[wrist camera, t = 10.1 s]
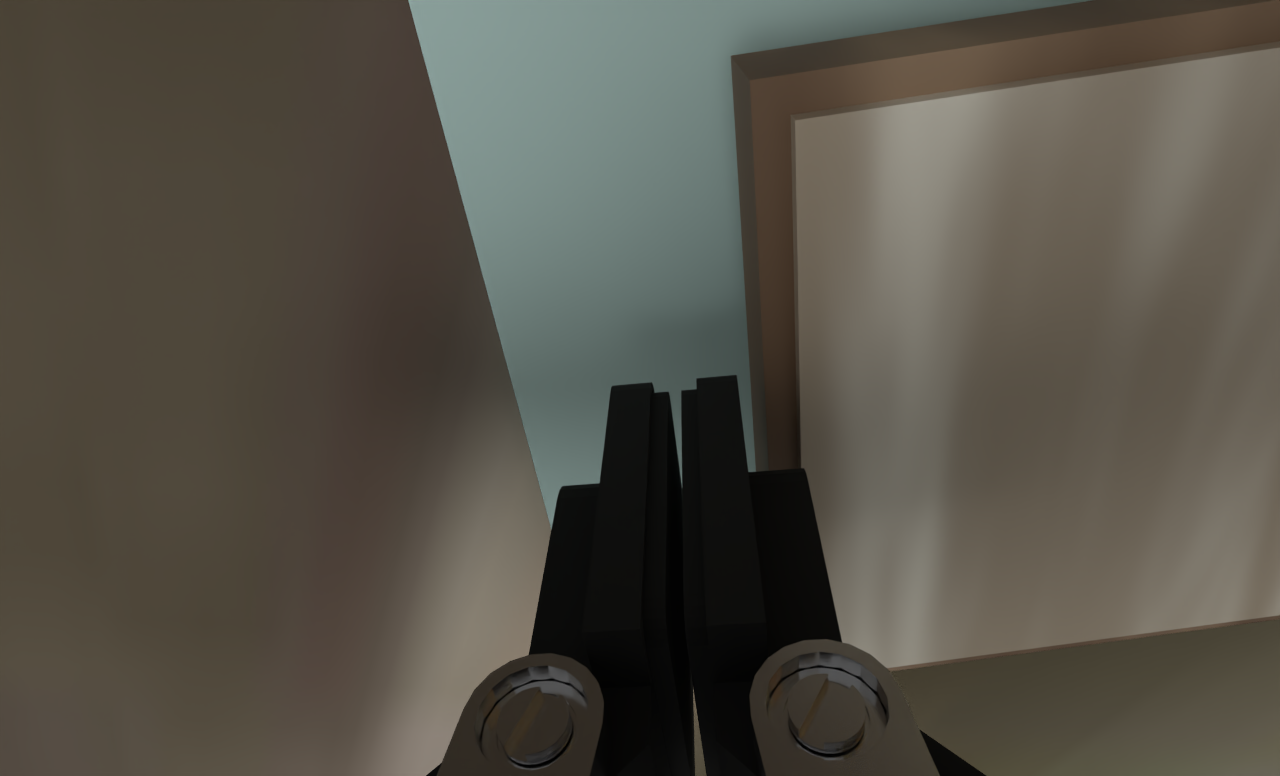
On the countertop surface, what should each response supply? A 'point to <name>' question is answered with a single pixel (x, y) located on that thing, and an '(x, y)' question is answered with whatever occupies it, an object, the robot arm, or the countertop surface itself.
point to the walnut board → (1023, 320)
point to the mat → (617, 189)
